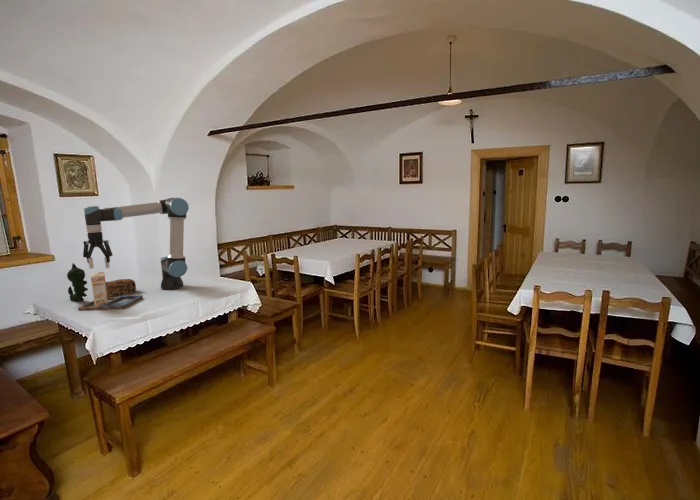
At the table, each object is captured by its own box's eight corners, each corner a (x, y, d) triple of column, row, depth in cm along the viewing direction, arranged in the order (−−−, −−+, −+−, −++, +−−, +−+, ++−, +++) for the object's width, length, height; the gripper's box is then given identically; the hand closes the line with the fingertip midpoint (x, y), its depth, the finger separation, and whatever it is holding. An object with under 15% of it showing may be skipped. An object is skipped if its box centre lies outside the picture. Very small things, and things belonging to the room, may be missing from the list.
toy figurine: (76, 304, 240) (71, 265, 236) (62, 300, 249) (56, 263, 245) (92, 300, 248) (87, 262, 244) (78, 296, 257) (73, 260, 253)
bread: (106, 298, 252) (104, 283, 251) (101, 295, 260) (100, 281, 258) (137, 292, 266) (135, 278, 264) (131, 289, 273) (130, 276, 271)
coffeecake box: (108, 306, 234) (104, 275, 231) (94, 308, 230) (90, 277, 227) (108, 300, 246) (104, 271, 243) (95, 302, 243) (91, 273, 240)
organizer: (143, 298, 250) (142, 295, 250) (124, 308, 228) (124, 305, 228) (100, 299, 249) (100, 296, 249) (78, 310, 227) (77, 307, 227)
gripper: (116, 230, 235) (121, 266, 239) (80, 231, 234) (85, 267, 238) (109, 231, 228) (114, 268, 231) (72, 233, 227) (77, 269, 231)
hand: (99, 268), depth 235 cm, fingers open, 9 cm apart
